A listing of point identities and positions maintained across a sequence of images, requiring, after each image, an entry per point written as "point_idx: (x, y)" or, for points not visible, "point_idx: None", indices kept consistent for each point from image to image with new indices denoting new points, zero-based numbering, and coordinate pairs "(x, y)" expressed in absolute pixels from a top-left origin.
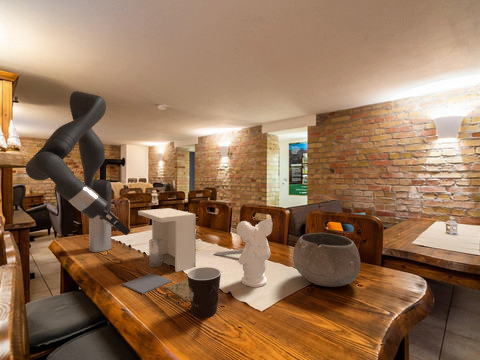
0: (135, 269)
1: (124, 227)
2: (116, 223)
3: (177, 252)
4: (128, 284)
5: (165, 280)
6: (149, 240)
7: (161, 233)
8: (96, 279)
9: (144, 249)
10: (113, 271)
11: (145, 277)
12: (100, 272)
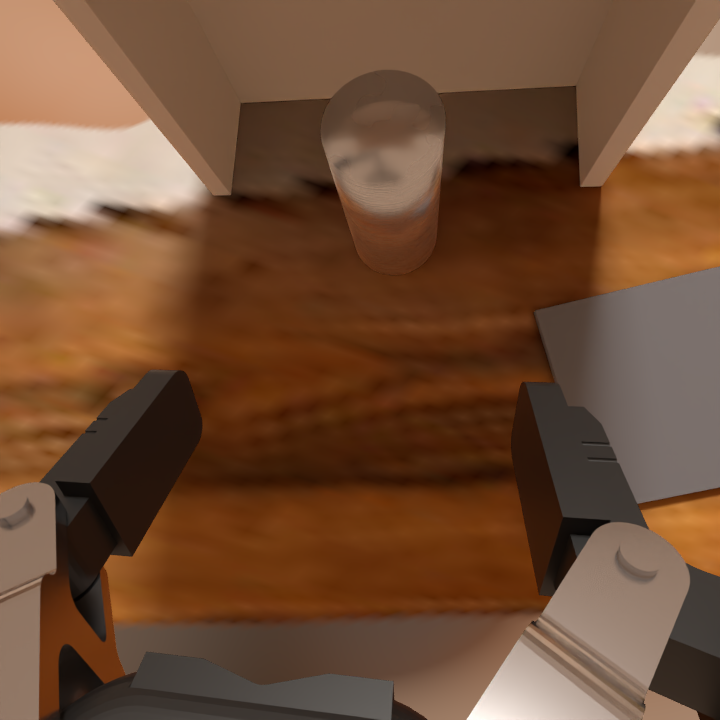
0: (383, 361)
1: (626, 495)
2: (123, 482)
3: (664, 88)
4: (634, 486)
5: (717, 292)
6: (358, 176)
7: (155, 8)
8: (389, 605)
9: (48, 188)
10: (322, 479)
11: (587, 367)
12: (281, 549)
